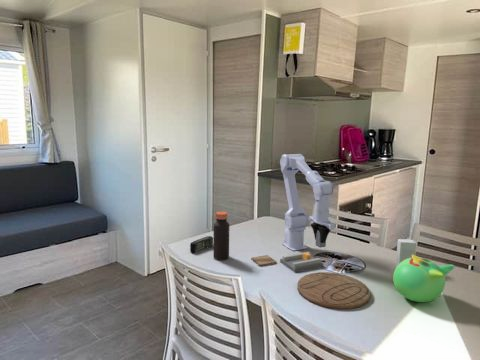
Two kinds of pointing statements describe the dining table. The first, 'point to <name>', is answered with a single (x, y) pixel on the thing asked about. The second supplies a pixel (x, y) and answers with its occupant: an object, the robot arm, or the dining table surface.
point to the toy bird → (420, 279)
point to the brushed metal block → (319, 240)
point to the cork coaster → (263, 260)
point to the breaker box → (300, 262)
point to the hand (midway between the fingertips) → (320, 241)
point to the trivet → (333, 290)
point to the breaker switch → (306, 256)
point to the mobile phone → (201, 244)
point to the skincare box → (405, 250)
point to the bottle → (221, 237)
